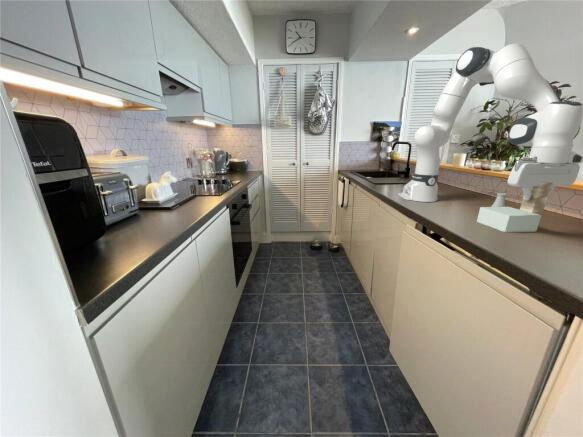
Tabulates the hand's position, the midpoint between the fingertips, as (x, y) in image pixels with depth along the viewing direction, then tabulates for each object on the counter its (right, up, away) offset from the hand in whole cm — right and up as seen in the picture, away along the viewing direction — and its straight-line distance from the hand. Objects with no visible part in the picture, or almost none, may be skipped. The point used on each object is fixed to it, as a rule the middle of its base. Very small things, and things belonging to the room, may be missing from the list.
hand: (534, 199), depth 78 cm
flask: (+7, -6, +23) cm, 25 cm away
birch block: (0, -4, +1) cm, 4 cm away
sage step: (-1, -9, +10) cm, 14 cm away
